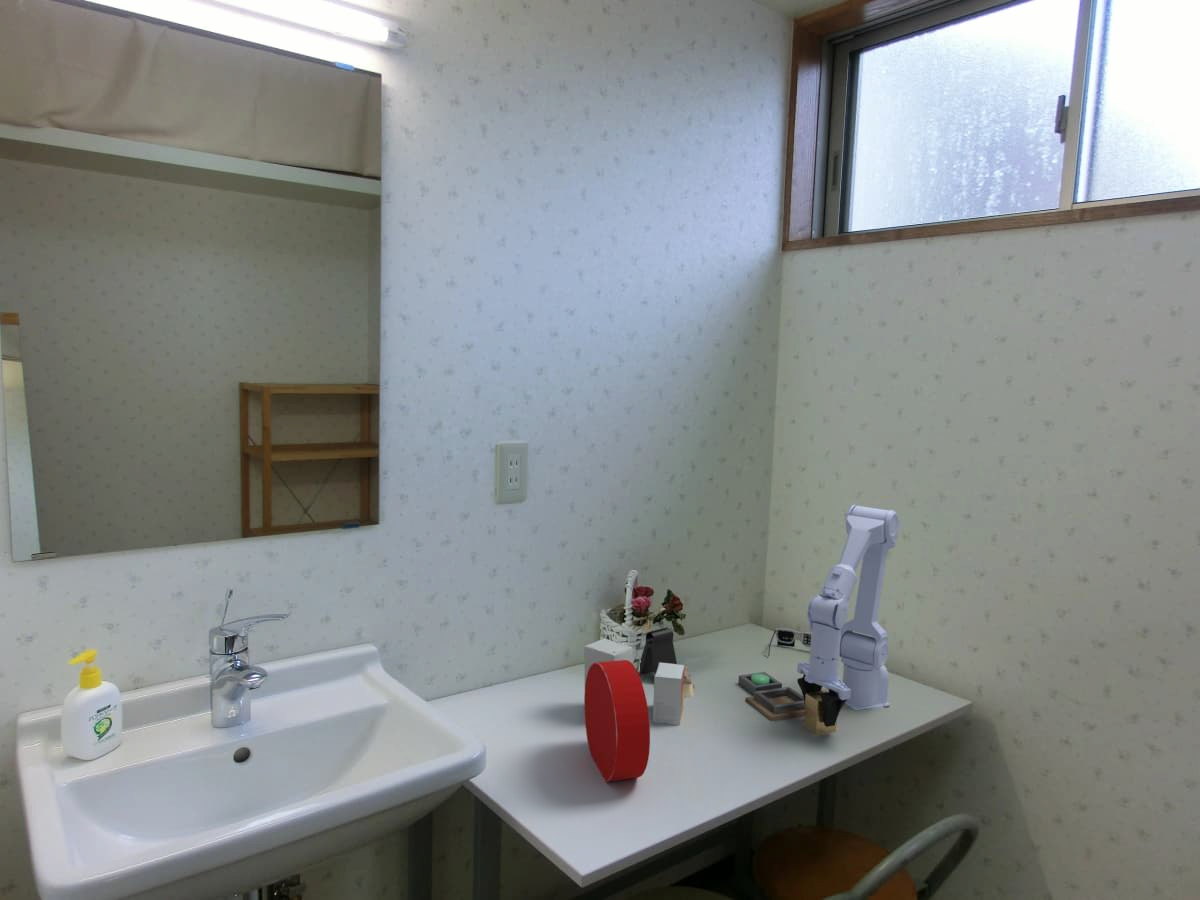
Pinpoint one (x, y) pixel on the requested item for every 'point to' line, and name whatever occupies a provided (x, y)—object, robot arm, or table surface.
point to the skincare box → (606, 653)
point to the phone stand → (657, 650)
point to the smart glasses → (790, 638)
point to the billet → (816, 714)
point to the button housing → (751, 687)
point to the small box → (668, 693)
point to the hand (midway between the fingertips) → (820, 719)
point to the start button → (760, 679)
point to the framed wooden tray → (778, 703)
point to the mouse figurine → (688, 684)
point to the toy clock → (617, 720)
